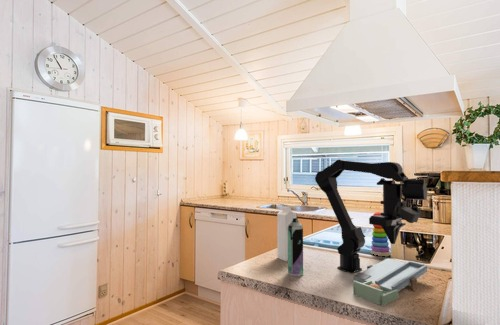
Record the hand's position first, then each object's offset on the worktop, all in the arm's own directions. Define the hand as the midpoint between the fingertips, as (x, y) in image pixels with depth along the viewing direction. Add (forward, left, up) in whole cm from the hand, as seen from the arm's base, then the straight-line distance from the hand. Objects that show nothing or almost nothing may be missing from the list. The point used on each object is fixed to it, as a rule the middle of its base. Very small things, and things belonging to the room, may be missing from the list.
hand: (392, 243), depth 103 cm
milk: (-39, -14, -12) cm, 43 cm away
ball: (+5, -19, -10) cm, 22 cm away
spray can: (-23, -24, -12) cm, 35 cm away
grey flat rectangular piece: (+1, -3, -9) cm, 10 cm away
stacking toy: (-20, +24, -12) cm, 34 cm away
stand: (+1, -3, -12) cm, 13 cm away
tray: (+5, -18, -12) cm, 22 cm away
